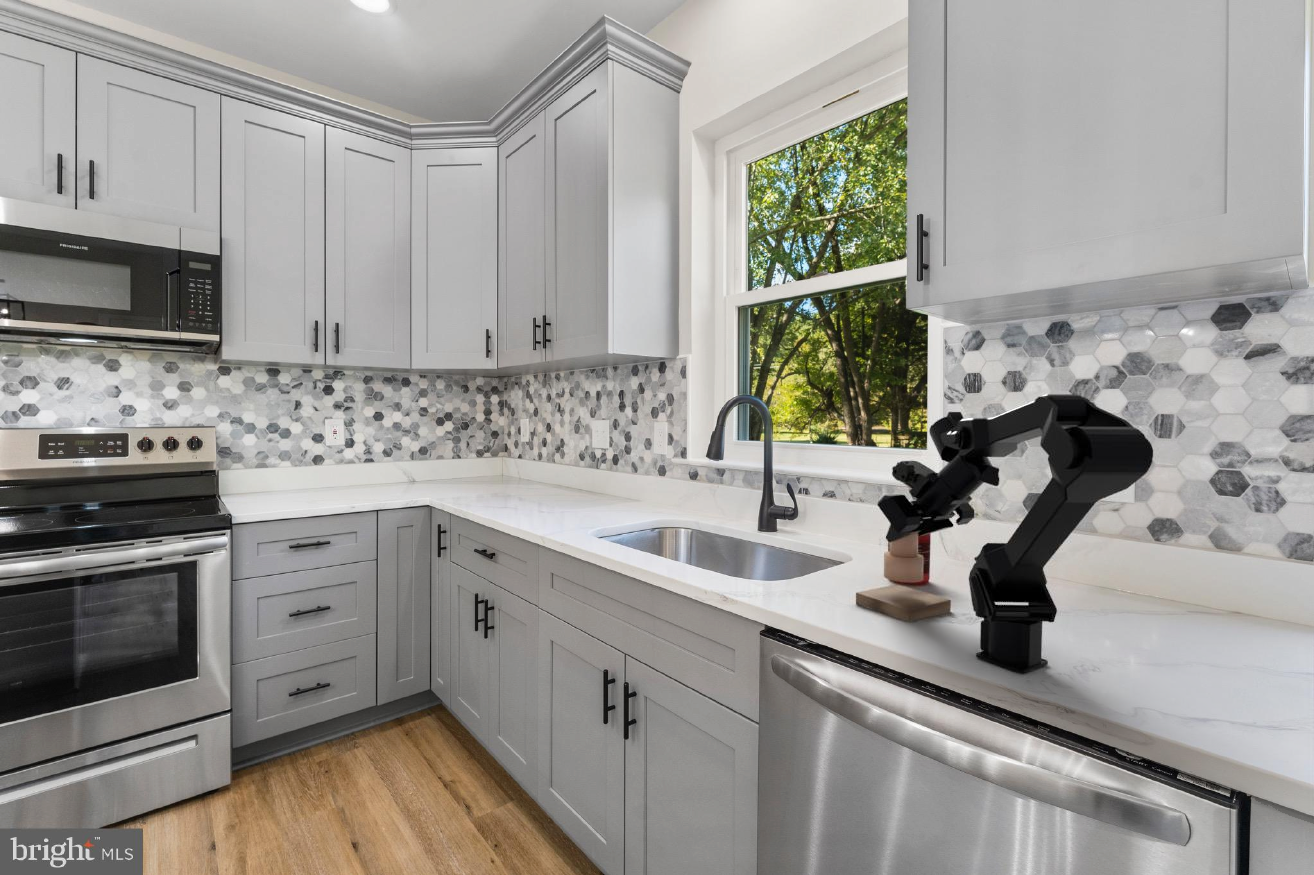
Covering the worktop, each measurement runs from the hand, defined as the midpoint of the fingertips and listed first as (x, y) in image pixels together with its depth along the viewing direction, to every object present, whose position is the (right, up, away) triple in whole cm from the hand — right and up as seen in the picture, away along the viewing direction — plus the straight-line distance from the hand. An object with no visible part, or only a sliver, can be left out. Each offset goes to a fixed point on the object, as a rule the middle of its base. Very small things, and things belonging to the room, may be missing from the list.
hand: (897, 538), depth 107 cm
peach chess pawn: (+1, -7, -1) cm, 7 cm away
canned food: (+9, -12, +17) cm, 22 cm away
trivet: (+1, -12, -1) cm, 12 cm away
